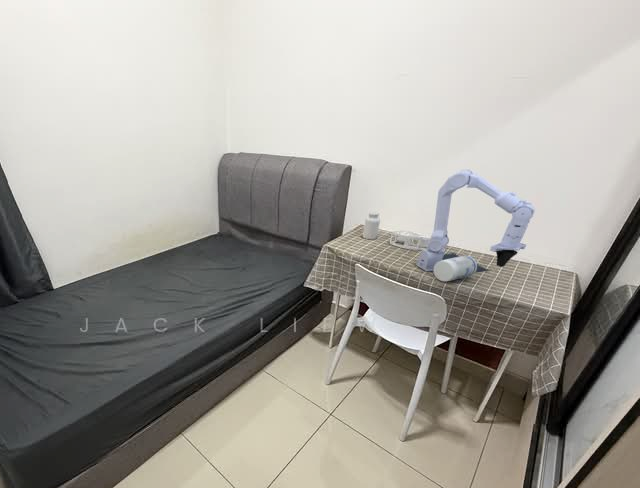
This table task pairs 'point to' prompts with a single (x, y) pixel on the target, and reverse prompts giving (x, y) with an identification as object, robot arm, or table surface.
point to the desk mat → (448, 256)
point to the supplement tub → (455, 268)
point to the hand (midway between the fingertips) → (499, 265)
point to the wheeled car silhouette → (405, 237)
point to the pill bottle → (371, 226)
